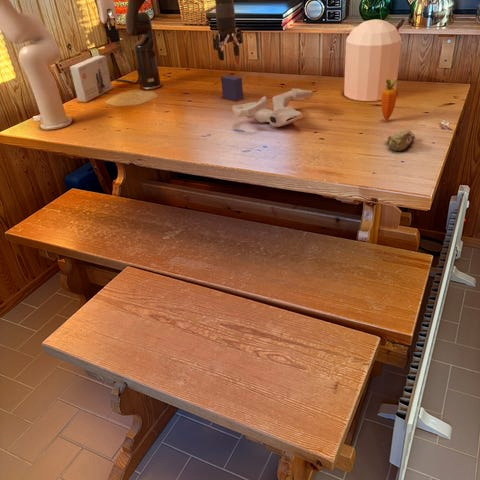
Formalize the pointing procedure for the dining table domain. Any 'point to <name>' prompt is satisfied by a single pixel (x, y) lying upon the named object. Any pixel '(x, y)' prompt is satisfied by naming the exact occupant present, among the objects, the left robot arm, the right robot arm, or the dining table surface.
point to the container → (371, 60)
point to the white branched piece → (280, 112)
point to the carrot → (388, 99)
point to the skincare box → (91, 78)
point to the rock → (400, 140)
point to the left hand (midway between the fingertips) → (113, 39)
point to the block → (232, 87)
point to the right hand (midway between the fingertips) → (229, 57)
